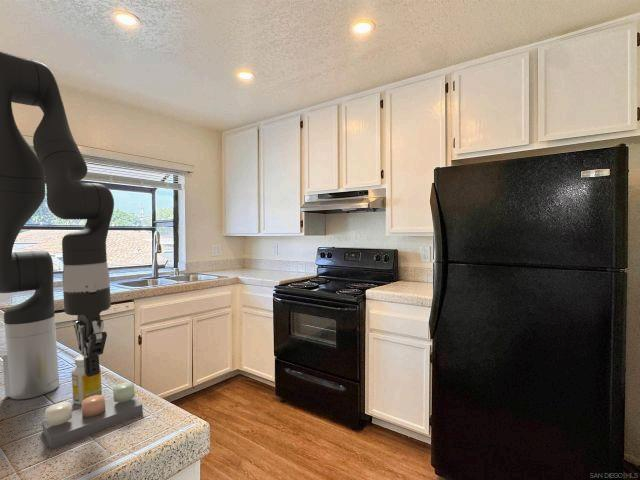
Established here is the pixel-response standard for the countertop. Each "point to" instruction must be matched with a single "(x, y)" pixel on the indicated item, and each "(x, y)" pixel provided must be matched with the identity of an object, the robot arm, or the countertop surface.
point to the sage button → (124, 392)
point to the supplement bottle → (84, 382)
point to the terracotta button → (93, 405)
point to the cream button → (58, 413)
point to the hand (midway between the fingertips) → (92, 374)
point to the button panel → (91, 422)
